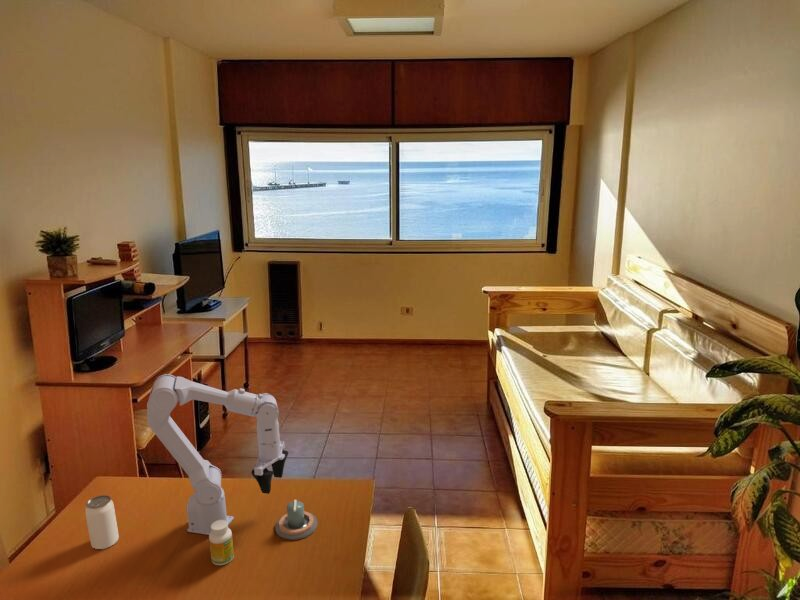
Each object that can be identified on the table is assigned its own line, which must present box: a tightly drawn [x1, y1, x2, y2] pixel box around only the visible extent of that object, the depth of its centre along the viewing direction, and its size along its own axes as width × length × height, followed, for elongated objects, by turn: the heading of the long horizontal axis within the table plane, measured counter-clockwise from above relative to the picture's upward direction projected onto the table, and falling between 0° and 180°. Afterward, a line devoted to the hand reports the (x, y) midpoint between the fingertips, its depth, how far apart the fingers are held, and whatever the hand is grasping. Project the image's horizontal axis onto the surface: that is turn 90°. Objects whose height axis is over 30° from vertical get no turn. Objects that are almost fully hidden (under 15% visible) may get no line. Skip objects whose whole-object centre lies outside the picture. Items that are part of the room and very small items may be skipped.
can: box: [84, 494, 120, 550], centre depth 148 cm, size 6×6×12 cm
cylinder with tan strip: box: [286, 499, 305, 529], centre depth 154 cm, size 5×4×6 cm
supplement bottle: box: [208, 520, 235, 566], centre depth 142 cm, size 5×5×10 cm
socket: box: [274, 510, 318, 541], centre depth 154 cm, size 11×11×2 cm
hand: (272, 484), depth 157 cm, fingers open, 7 cm apart
